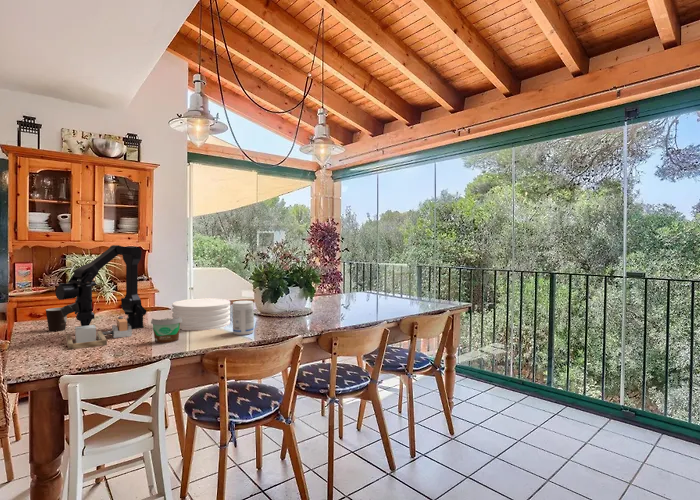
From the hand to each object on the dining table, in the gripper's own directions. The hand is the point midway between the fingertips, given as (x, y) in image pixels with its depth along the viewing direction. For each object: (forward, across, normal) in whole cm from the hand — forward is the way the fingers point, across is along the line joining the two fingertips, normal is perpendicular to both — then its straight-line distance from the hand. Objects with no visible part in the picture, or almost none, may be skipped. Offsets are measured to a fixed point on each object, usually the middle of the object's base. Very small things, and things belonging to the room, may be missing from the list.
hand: (84, 332), depth 180 cm
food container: (+3, +25, +28) cm, 38 cm away
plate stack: (+3, -3, +51) cm, 51 cm away
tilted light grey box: (+3, +6, 0) cm, 6 cm away
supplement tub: (+3, +27, +61) cm, 67 cm away
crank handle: (0, +2, +14) cm, 14 cm away
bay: (+3, +7, 0) cm, 8 cm away
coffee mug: (+3, -27, -8) cm, 28 cm away
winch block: (+3, +2, +12) cm, 13 cm away
